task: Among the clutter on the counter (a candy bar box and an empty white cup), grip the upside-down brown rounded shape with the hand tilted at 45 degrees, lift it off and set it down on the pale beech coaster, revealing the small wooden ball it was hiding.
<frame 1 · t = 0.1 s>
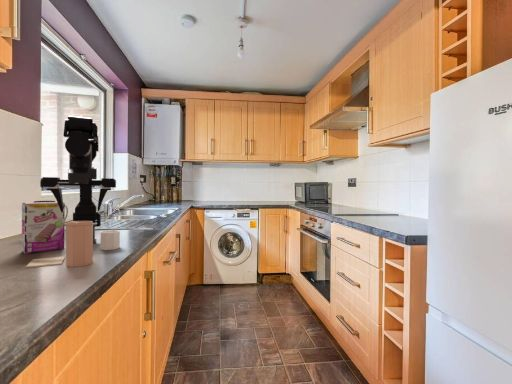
hand: (80, 211, 85), 15 cm above the counter, tool pointing down, fingers open, 9 cm apart
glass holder: (51, 236, 121), on the counter
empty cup: (110, 248, 102), on the counter
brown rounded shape: (79, 263, 82), on the counter
wooden ball: (79, 258, 82), in the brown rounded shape
candy bar box: (43, 251, 97), on the counter
coaster: (46, 262, 82), on the counter
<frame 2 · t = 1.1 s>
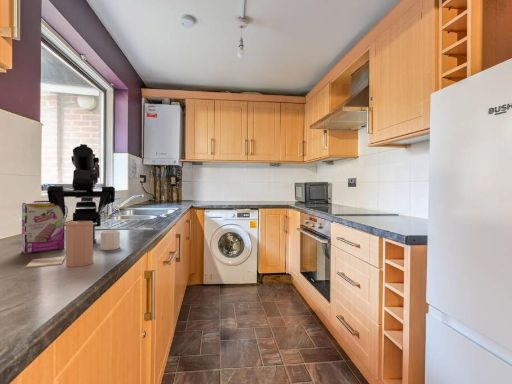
hand: (81, 214, 89), 13 cm above the counter, tool tilted 45°, fingers open, 9 cm apart
nothing on the counter moved.
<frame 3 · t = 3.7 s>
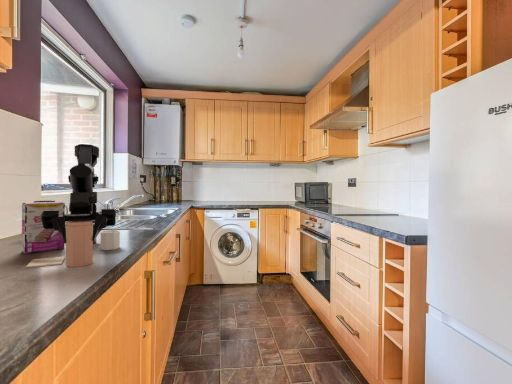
hand: (79, 241, 81), 7 cm above the counter, tool tilted 45°, fingers closed on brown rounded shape, 6 cm apart
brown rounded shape: (79, 263, 82), on the counter, touching gripper
everything else where it was.
when the fingers open (8 cm above the counter, at t = 7.5 s): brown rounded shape drops 1 cm, resting on coaster.
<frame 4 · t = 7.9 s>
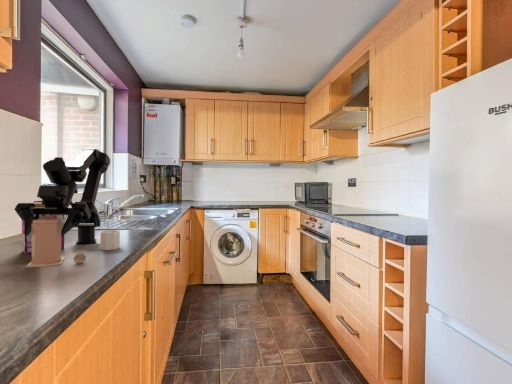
hand: (44, 234, 81), 8 cm above the counter, tool tilted 45°, fingers open, 9 cm apart
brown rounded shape: (46, 261, 82), resting on coaster
everything else where it was.
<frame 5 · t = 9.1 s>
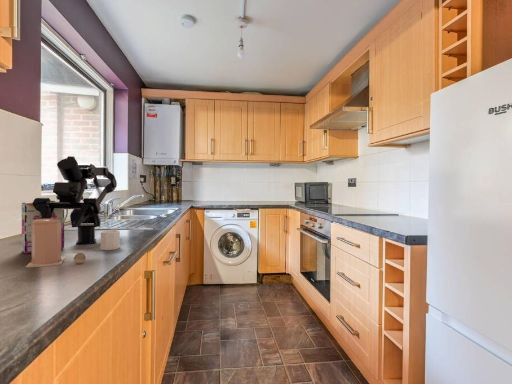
hand: (59, 226, 89), 9 cm above the counter, tool tilted 45°, fingers open, 9 cm apart
candy bar box: (43, 250, 97), on the counter, touching gripper
everything else where it was.
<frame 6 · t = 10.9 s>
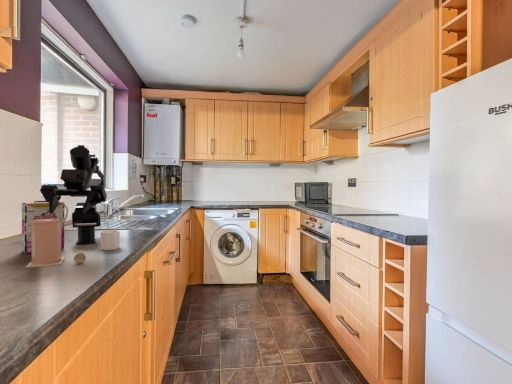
hand: (66, 212, 91), 14 cm above the counter, tool tilted 45°, fingers open, 9 cm apart
nothing on the counter moved.
at the end: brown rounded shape inside the target area on the coaster (0.0 cm from its centre), point 0.4 cm above the coaster's base; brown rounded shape tilted 0°; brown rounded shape moved 9.9 cm from its start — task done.
